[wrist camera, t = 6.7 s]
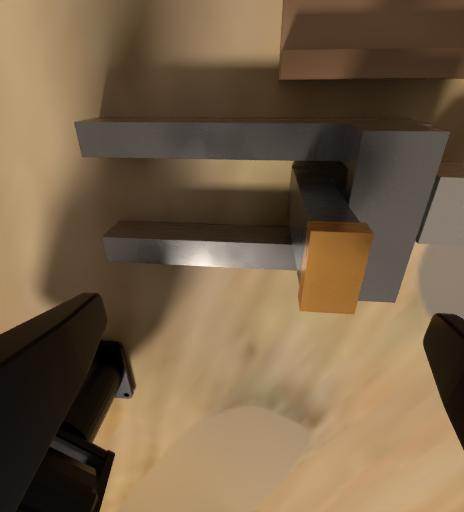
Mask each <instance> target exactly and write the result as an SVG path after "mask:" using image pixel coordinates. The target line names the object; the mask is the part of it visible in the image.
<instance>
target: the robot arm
mask: <svg viewBox="0 0 464 512" xmlns="http://www.w3.org/2000/svg"><path fill="white" fill-rule="evenodd" d="M106 324H107V315H106V312H105V308H104V304H103V300H102V297H101V296H100V295H99V294H97V293H82V294H80V295H78V296H76V297H74V298H72V299H70V300H68V301H66V302H64V303H62V304H60V305H58V306H56V307H54V308H52V309H50V310H48V311H46V312H44V313H42V314H40V315H38V316H36V317H34V318H32V319H30V320H28V321H26V322H24V323H22V324H20V325H18V326H16V327H14V328H12V329H10V330H8V331H6V332H4V333H2V334H0V512H99V511H100V508H101V504H102V500H103V497H104V493H105V489H106V486H107V482H108V478H109V475H110V471H111V467H112V464H113V460H114V456H115V453H114V452H112V451H110V450H108V451H106V450H105V449H103V448H101V447H99V446H97V445H95V444H93V441H94V439H95V437H96V435H97V433H98V431H99V428H100V426H101V424H102V422H103V420H104V418H105V416H106V414H107V412H108V410H109V408H110V406H111V404H112V402H113V400H114V398H127V399H129V398H131V397H132V395H133V393H134V391H133V387H132V383H131V379H130V375H129V371H128V367H127V363H126V359H125V355H124V351H123V347H122V345H121V344H119V343H116V342H104V341H100V340H101V338H102V335H103V333H104V330H105V328H106ZM423 345H424V350H425V352H426V355H427V358H428V361H429V364H430V367H431V370H432V373H433V376H434V379H435V382H436V385H437V388H438V391H439V394H440V397H441V400H442V402H443V405H444V408H445V410H446V412H447V414H448V417H449V419H450V421H451V423H452V426H453V428H454V430H455V432H456V434H457V436H458V439H459V441H460V443H461V445H462V447H463V450H464V319H463V318H461V317H459V316H457V315H455V314H446V313H437V314H435V315H434V316H433V317H432V319H431V321H430V324H429V326H428V328H427V331H426V333H425V336H424V339H423Z"/></svg>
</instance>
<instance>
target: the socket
mask: <svg viewBox="0 0 464 512" xmlns="http://www.w3.org/2000/svg"><path fill="white" fill-rule="evenodd" d="M74 124H75V128H76V132H77V136H78V141H79V145H80V149H81V153H82V157H109V158H169V159H230V160H290V161H341V162H342V163H343V164H344V165H345V166H346V167H347V168H348V175H347V180H346V186H345V191H344V197H343V198H344V200H345V201H346V203H347V204H348V206H349V207H350V208H351V210H352V211H353V213H354V214H355V216H356V217H357V219H358V220H359V221H360V222H361V223H367V224H368V226H369V227H370V228H371V230H372V231H373V232H374V237H373V241H372V245H371V249H370V253H369V257H368V261H367V265H366V269H365V273H364V277H363V281H362V285H361V289H360V293H359V297H358V301H374V302H393V303H395V301H396V298H397V295H398V292H399V289H400V286H401V283H402V280H403V277H404V274H405V270H406V267H407V264H408V261H409V258H410V255H411V252H412V249H413V246H414V243H415V240H416V237H417V233H418V230H419V227H420V224H421V221H422V218H423V215H424V212H425V209H426V206H427V203H428V200H429V196H430V193H431V190H432V187H433V184H434V181H435V178H436V175H437V172H438V169H439V166H440V163H441V160H442V156H443V153H444V150H445V147H446V144H447V141H448V138H449V135H450V131H446V130H442V129H438V128H434V127H431V125H432V124H429V123H425V122H420V121H416V120H411V119H326V118H109V117H98V118H93V119H87V120H82V121H77V122H74ZM101 238H102V242H103V246H104V250H105V254H106V259H107V261H108V262H129V263H150V264H171V265H192V266H213V267H234V268H255V269H276V270H297V268H296V262H295V256H294V250H293V244H292V238H291V232H290V227H280V226H252V225H223V224H195V223H167V222H139V221H118V222H117V223H116V224H115V225H114V226H113V227H112V228H111V229H110V230H109V231H108V232H106V233H105V234H104V235H103V236H102V237H101Z"/></svg>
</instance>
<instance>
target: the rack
mask: <svg viewBox="0 0 464 512" xmlns="http://www.w3.org/2000/svg"><path fill="white" fill-rule="evenodd" d="M340 79H464V0H283V12H282V29H281V45H280V61H279V78H278V80H340Z"/></svg>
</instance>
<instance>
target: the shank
mask: <svg viewBox="0 0 464 512" xmlns="http://www.w3.org/2000/svg"><path fill="white" fill-rule="evenodd" d="M415 241H416V242H417V243H420V244H441V245H461V246H462V245H463V246H464V163H460V162H441V163H440V166H439V169H438V172H437V175H436V178H435V181H434V184H433V187H432V190H431V193H430V196H429V200H428V203H427V206H426V209H425V212H424V215H423V218H422V221H421V224H420V227H419V230H418V233H417V237H416V240H415Z"/></svg>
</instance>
